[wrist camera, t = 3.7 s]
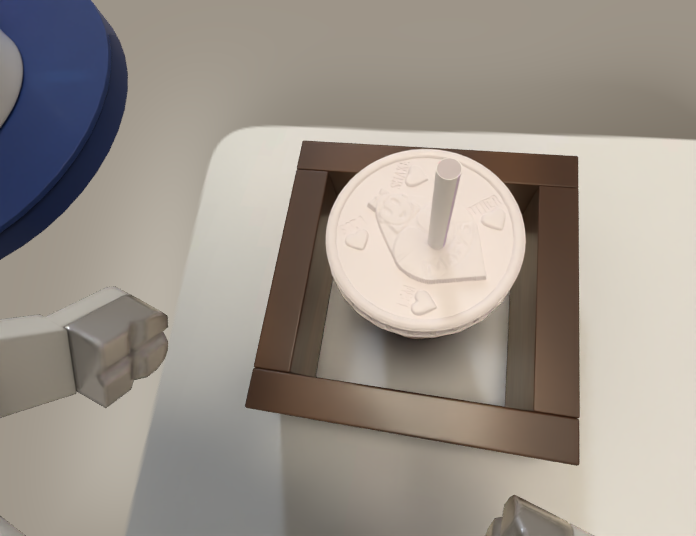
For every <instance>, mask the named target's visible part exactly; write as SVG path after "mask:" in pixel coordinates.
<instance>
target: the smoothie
mask: <svg viewBox="0 0 696 536" xmlns="http://www.w3.org/2000/svg"><path fill="white" fill-rule="evenodd" d="M525 244H526V237H525V227H524V222H523V218H522V214H521V212H520V209H519V206H518V204H517V202H516V200H515V198H514V197H513V195H512V194H511V192H510V191H509V189H508V188H507V187H506V185H505V184H504V183H503V182H502V181H501V180H500V179H499V178H498V177H497V176H496V175H495V174H494V173H493V172H491V171H490V170H489V169H487V168H486V167H484V166H483V165H481V164H480V163H478V162H476V161H474V160H472V159H470V158H468V157H465V156H463V155H460V154H457V153H453V152H449V151H443V150H436V149H415V150H408V151H402V152H398V153H394V154H391V155H389V156H386V157H383V158H381V159H379V160H377V161H375V162H373V163H371V164H370V165H368V166H367V167H365V168H364V169H362V170H361V171H360V172H359V173H357V174H356V175H355V176H354V177H353V178H352V179H351V180H350V181H349V182H348V183H347V184H346V186H345V187H344V188H343V190H342V191H341V192H340V194H339V195H338V197H337V199H336V201H335V203H334V205H333V207H332V209H331V212H330V215H329V218H328V223H327V229H326V252H327V257H328V262H329V265H330V268H331V273H332V276H333V278H334V280H335V282H336V284H337V286H338V288H339V290H340V293H341V295H342V296H343V297H344V298H345V300H346V301H347V302H348V303H349V304H350V305H351V306H352V307H353V309H354V310H355V311H356V312H357V313H358V314H359V315H361V316H362V317H364V318H365V319H367V320H368V321H370V322H371V323H373V324H374V325H376V326H378V327H379V328H381V329H384V330H387V331H390V332H393V333H397V334H400V335H402V336H404V337H407V338H411V339H424V338H434V337H439V336H444V335H449V334H454V333H459V332H461V331H463V330H465V329H467V328H469V327H471V326H473V325H475V324H477V323H479V322H481V321H482V320H484V319H485V318H486V317H487V316H488V315H489V314H490V313H491V312H492V311H494V310H495V309H496V308H497V307H498V306H499V305H500V304H501V303H502V302H503V300H504V299H505V297H506V295H507V294H508V292H509V290H510V289H511V287H512V285H513V284H514V282H515V280H516V278H517V276H518V274H519V272H520V269H521V266H522V263H523V259H524V254H525Z"/></svg>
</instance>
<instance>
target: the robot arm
mask: <svg viewBox="0 0 696 536" xmlns="http://www.w3.org/2000/svg"><path fill="white" fill-rule="evenodd" d="M22 79H23V63H22V58H21V54H20V52H19V50H18V48H17V46H16V45H15V43H14V42H13V41H12V40H11V39H10V38H9V37H8V36H7V35H6V34H5V33H4V32H3V31H2V30H1V29H0V127H1V126H2V125H3V123H4V122H5V120H6V119H7V117H8V116H9V114H10V112H11V111H12V109H13V107H14V105H15V102H16V100H17V98H18V95H19V92H20V89H21V84H22ZM167 327H168V317H167V315H166V314H164V313H163V312H161V311H159V310H157V309H155V308H154V307H152V306H150V305H148V304H147V303H145V302H143V301H141V300H140V299H138V298H136V297H134V296H132V295H130V294H128V293H126V292H124V291H123V290H121V289H119V288H117V287H106V288H104V289H102V290H100V291H98V292H96V293H94V294H91V295H89V296H87V297H85V298H83V299H81V300H79V301H77V302H75V303H73V304H71V305H69V306H67V307H65V308H63V309H60V310H58V311H56V312H54V313H52V314H50V315H48V316H46V317H44V316H42V315H40V314H39V315H31V316H23V317H15V318H6V319H0V418H1V417H5V416H7V415H11V414H14V413H17V412H20V411H23V410H27V409H30V408H33V407H36V406H39V405H42V404H45V403H49V402H52V401H55V400H58V399H61V398H64V397H68V396H71V395H74V394H76V391H77V392H79V393H80V394H82V395H84V396H86V397H87V398H89V399H91V400H92V401H94V402H96V403H98V404H99V405H101V406H103V407H105V408H107V407H108V406H110V405H111V404H112V403H114V402H115V401H116V400H117V399H119V398H120V397H122V396H123V395H124V394H126V393H127V392H128V391H129V390H131V388H132V385H133V382H134V380H137V379H141V378H146V377H148V376H149V375H150V374H152V373H153V372H154V371H156V370H157V369H158V367H159V366H160V365H161V363H162V362H163V361H164V359H165V357H166V354H167V351H168V341H167V339H166V336H165V334H164V333H163V331H164V330H165V329H166V328H167ZM0 536H26V535H24V534H23V533H22V532H21V531H19V530H18V529H17V528H15V527H14V526H13V525H11V524H10V523H9V522H8V521H6V520H5V519H4V518H2V517H1V516H0ZM485 536H594V535H592V534H590V533H588V532H586V531H584V530H582V529H580V528H578V527H576V526H574V525H572V524H570V523H568V522H567V521H565V520H563V519H561V518H559V517H557V516H556V515H554V514H552V513H550V512H548V511H546V510H544V509H542V508H540V507H538V506H536V505H534V504H532V503H530V502H528V501H526V500H524V499H522V498H520V497H518V496H516V495H513V496H511V497H510V498H509V499H508V500H507V502H506V503H505V504H504V509H503V517H499V518H494V520H493V522H492V523H491V525H490V526H489V528H488V530H487V532H486V535H485Z"/></svg>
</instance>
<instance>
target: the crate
mask: <svg viewBox="0 0 696 536" xmlns="http://www.w3.org/2000/svg"><path fill="white" fill-rule="evenodd" d="M415 149H436V150H443V151H449V152H453V153H457V154H460V155H463V156H465V157H468V158H470V159H472V160H474V161H476V162H478V163H480V164H481V165H483V166H484V167H486V168H487V169H489V170H490V171H491V172H493V173H494V174H495V175H496V176H497V177H498V178H499V179H500V180H501V181H502V182H503V183H504V184H505V185H506V187H507V188H508V189H509V191H510V192H511V194H512V195H513V197H514V198H515V200H516V202H517V204H518V206H519V209H520V212H521V214H522V218H523V222H524V227H525V237H526V244H525V254H524V259H523V263H522V266H521V269H520V272H519V274H518V276H517V278H516V280H515V282H514V284H513V285H512V287H511V289H510V306H509V329H508V351H507V373H506V396H505V407H502V406H496V405H490V404H483V403H477V402H470V401H464V400H458V399H451V398H445V397H439V396H432V395H426V394H419V393H413V392H407V391H400V390H394V389H388V388H381V387H375V386H368V385H362V384H356V383H349V382H343V381H337V380H330V379H324V378H317V377H315V376H316V370H317V365H318V359H319V353H320V348H321V342H322V336H323V330H324V325H325V319H326V313H327V308H328V302H329V296H330V290H331V285H332V279H333V276H332V273H331V268H330V265H329V262H328V257H327V252H326V229H327V223H328V218H329V215H330V212H331V209H332V207H333V205H334V203H335V201H336V199H337V197H338V195H339V194H340V192H341V191H342V190H343V188H344V187H345V186H346V184H347V183H348V182H349V181H350V180H351V179H352V178H353V177H354V176H355V175H356V174H357V173H359V172H360V171H361V170H362V169H364V168H365V167H367V166H368V165H370V164H371V163H373V162H375V161H377V160H379V159H381V158H383V157H386V156H389V155H391V154H394V153H398V152H402V151H408V150H415ZM254 367H255V368H254V369H253V372H252V377H251V381H250V386H249V390H248V395H247V399H246V404H245V407H246V408H250V409H256V410H262V411H268V412H273V413H279V414H285V415H290V416H296V417H302V418H308V419H313V420H319V421H325V422H330V423H336V424H342V425H348V426H353V427H359V428H365V429H370V430H376V431H382V432H388V433H393V434H399V435H405V436H410V437H416V438H422V439H428V440H433V441H439V442H445V443H450V444H456V445H462V446H468V447H473V448H479V449H485V450H490V451H496V452H502V453H508V454H513V455H519V456H525V457H531V458H536V459H542V460H548V461H553V462H559V463H565V464H571V465H576V466H577V465H579V419H577V418H579V417H580V404H579V208H578V157H577V156H563V155H546V154H528V153H511V152H493V151H476V150H458V149H440V148H423V147H405V146H388V145H370V144H353V143H335V142H318V141H303V143H302V147H301V152H300V156H299V161H298V165H297V171H296V175H295V180H294V184H293V189H292V194H291V198H290V203H289V207H288V212H287V216H286V221H285V226H284V230H283V235H282V239H281V244H280V248H279V253H278V258H277V262H276V267H275V271H274V276H273V280H272V285H271V290H270V294H269V299H268V303H267V308H266V312H265V317H264V322H263V326H262V331H261V335H260V340H259V344H258V349H257V354H256V358H255V363H254Z"/></svg>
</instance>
